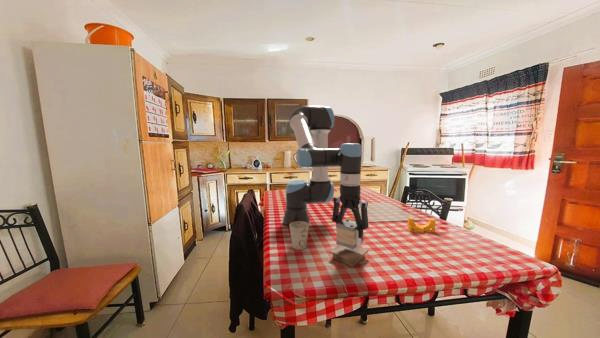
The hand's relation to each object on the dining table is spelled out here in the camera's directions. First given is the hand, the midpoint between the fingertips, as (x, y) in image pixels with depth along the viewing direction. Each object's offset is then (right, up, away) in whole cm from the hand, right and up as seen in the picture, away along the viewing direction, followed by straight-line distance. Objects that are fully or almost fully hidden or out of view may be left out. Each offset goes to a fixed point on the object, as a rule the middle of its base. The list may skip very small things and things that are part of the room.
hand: (349, 242), depth 87 cm
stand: (0, -6, +1) cm, 6 cm away
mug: (-20, -5, +12) cm, 24 cm away
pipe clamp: (+43, -3, +27) cm, 51 cm away
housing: (0, 0, 0) cm, 0 cm away
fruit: (+6, -4, +22) cm, 23 cm away
